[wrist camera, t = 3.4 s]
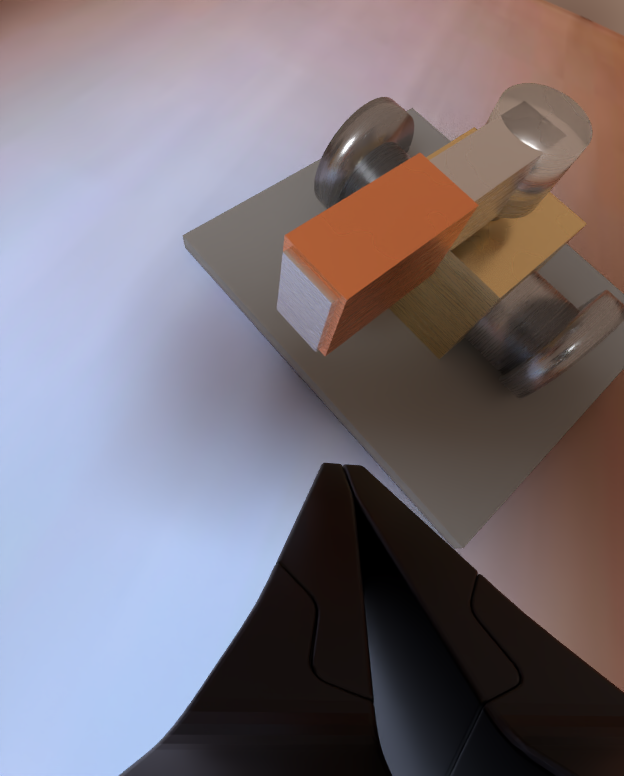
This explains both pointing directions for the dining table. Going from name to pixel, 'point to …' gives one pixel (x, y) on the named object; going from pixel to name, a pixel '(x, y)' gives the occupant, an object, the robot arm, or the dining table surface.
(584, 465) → the dining table surface
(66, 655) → the dining table surface
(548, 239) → the valve body
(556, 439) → the rubber mat
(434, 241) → the valve lever
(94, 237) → the dining table surface
